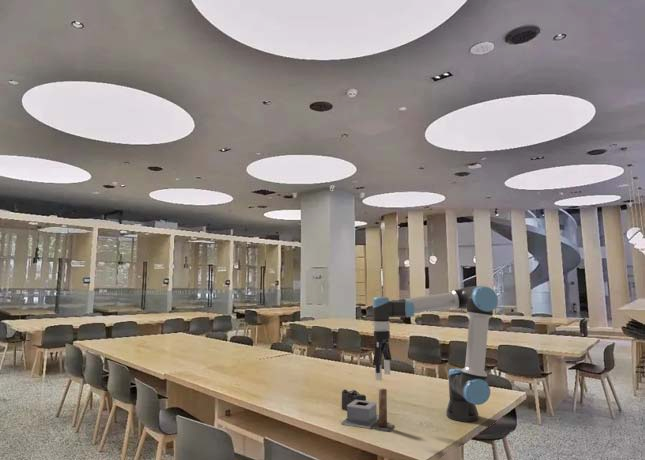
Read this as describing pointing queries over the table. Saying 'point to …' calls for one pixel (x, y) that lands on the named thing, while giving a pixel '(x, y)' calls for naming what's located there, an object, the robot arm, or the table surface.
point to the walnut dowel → (382, 408)
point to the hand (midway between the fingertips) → (383, 377)
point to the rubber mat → (383, 428)
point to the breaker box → (361, 414)
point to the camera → (351, 397)
